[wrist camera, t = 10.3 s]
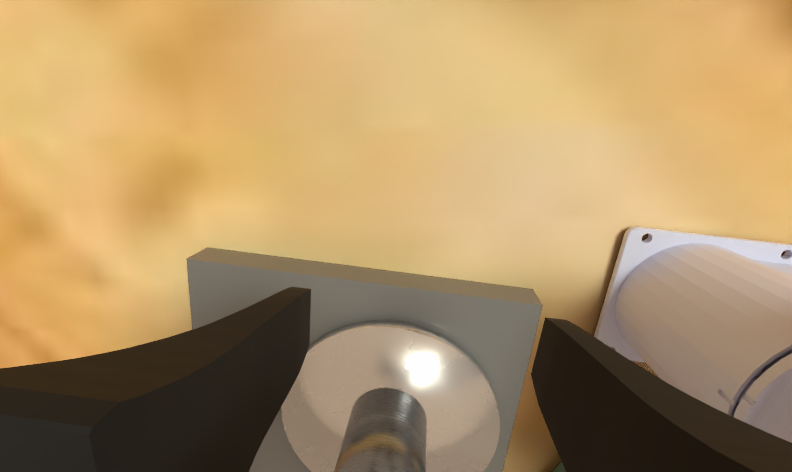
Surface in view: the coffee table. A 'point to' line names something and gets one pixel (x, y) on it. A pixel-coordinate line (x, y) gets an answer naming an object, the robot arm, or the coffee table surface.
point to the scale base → (376, 300)
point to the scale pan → (399, 369)
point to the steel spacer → (384, 434)
